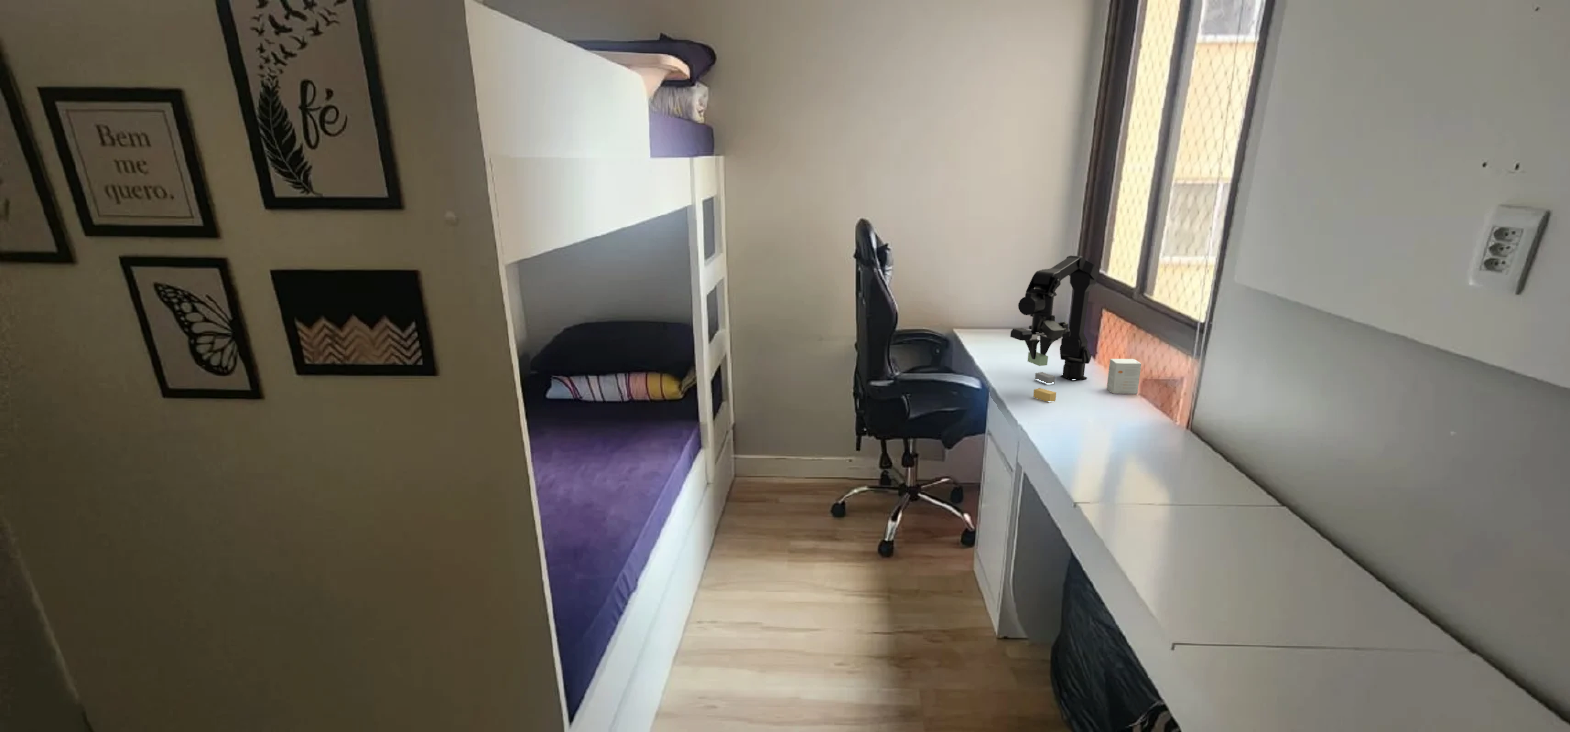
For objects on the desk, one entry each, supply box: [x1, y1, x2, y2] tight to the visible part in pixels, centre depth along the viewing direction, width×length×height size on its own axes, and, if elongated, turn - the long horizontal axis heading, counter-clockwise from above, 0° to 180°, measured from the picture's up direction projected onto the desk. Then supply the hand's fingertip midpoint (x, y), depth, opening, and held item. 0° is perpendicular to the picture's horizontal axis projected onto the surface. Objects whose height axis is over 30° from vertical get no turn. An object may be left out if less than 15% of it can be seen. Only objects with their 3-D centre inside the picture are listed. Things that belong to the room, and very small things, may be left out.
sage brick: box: [1027, 351, 1049, 367], centre depth 219 cm, size 6×3×3 cm, turn 17°
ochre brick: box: [1033, 387, 1057, 402], centre depth 216 cm, size 6×3×3 cm, turn 35°
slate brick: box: [1034, 371, 1056, 383], centre depth 233 cm, size 6×3×3 cm, turn 23°
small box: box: [1106, 358, 1142, 395], centre depth 222 cm, size 8×6×10 cm
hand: (1037, 358), depth 218 cm, fingers closed on sage brick, 3 cm apart
